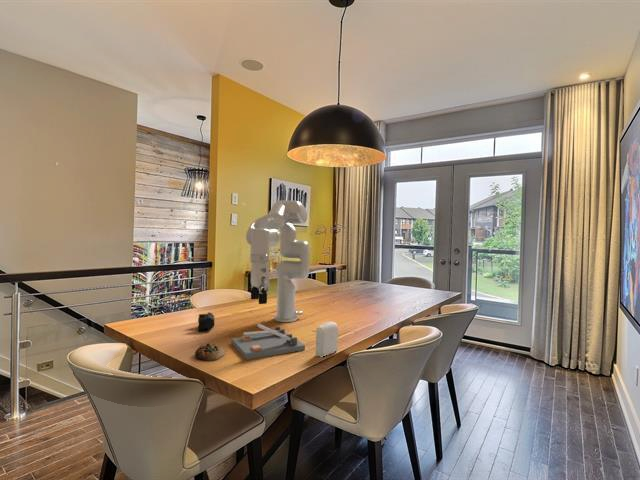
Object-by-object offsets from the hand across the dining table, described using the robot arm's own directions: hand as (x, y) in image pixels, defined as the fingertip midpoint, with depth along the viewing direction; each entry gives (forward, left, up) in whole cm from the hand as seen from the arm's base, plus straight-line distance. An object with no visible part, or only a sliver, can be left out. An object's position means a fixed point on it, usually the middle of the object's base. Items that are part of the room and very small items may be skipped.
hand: (258, 301), depth 135 cm
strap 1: (-5, -6, -16) cm, 17 cm away
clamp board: (-4, 0, -19) cm, 19 cm away
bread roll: (+18, 0, -20) cm, 27 cm away
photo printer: (-22, +17, -19) cm, 34 cm away
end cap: (+13, -35, -19) cm, 42 cm away
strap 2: (-5, +6, -13) cm, 15 cm away
